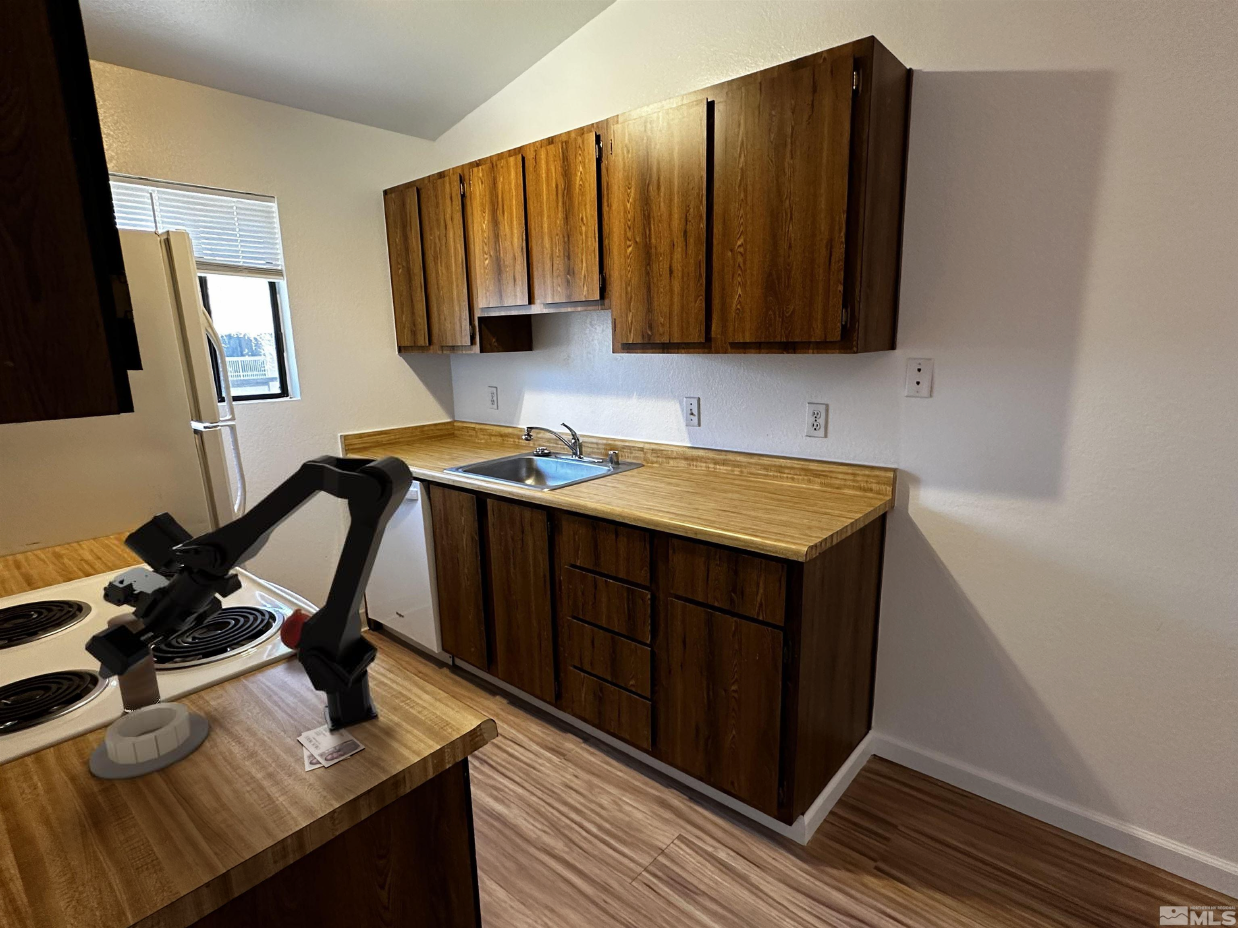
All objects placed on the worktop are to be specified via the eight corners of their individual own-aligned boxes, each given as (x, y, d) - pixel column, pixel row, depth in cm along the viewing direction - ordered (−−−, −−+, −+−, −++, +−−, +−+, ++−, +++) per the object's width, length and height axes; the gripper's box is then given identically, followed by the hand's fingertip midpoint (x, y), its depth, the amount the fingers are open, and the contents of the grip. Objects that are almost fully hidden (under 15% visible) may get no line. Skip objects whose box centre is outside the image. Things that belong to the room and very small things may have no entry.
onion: (304, 661, 106) (299, 617, 104) (275, 658, 107) (269, 614, 105) (327, 644, 112) (322, 602, 110) (298, 641, 113) (293, 600, 111)
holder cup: (208, 754, 83) (204, 730, 82) (81, 793, 76) (75, 767, 75) (209, 706, 94) (205, 684, 93) (98, 736, 87) (93, 712, 86)
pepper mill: (159, 707, 94) (144, 620, 91) (121, 716, 91) (104, 628, 88) (161, 692, 97) (146, 608, 94) (125, 701, 95) (108, 616, 92)
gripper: (193, 532, 98) (139, 596, 101) (84, 579, 80) (22, 655, 83) (248, 581, 99) (192, 642, 102) (152, 639, 81) (88, 711, 84)
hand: (129, 659), depth 93 cm, fingers open, 9 cm apart
